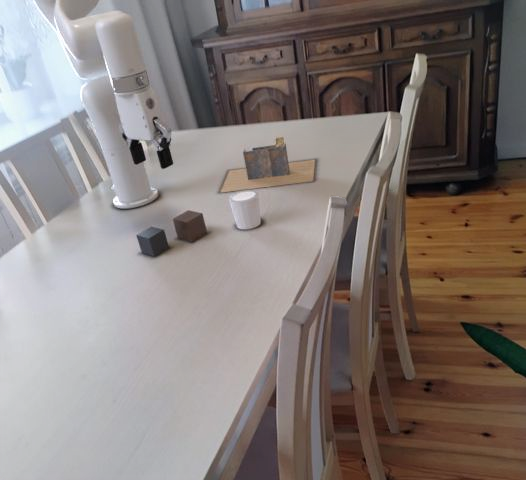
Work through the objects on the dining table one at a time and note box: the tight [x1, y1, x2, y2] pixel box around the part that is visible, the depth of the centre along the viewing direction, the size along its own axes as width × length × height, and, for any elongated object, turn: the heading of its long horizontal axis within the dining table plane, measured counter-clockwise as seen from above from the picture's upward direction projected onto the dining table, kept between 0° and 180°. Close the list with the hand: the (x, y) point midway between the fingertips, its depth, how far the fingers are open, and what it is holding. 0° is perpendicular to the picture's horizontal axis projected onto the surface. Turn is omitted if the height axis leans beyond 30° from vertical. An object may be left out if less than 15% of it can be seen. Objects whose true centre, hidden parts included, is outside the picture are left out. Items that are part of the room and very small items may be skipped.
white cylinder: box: [228, 189, 262, 230], centre depth 131 cm, size 7×7×7 cm
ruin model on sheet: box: [220, 135, 316, 193], centre depth 154 cm, size 25×16×10 cm, turn 84°
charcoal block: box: [135, 226, 170, 258], centre depth 129 cm, size 5×5×5 cm
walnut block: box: [172, 209, 208, 243], centre depth 132 cm, size 5×5×5 cm
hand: (153, 164), depth 128 cm, fingers open, 9 cm apart
